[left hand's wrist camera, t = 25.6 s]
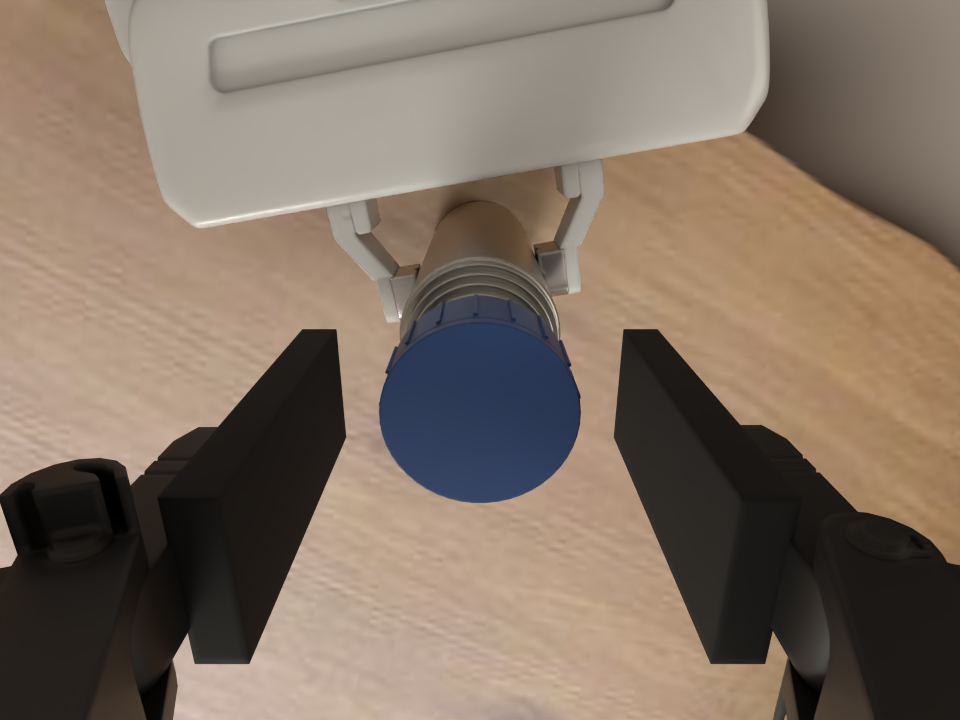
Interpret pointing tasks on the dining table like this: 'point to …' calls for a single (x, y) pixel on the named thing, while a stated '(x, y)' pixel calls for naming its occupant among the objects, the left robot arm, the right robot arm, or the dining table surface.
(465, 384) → the cap
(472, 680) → the dining table surface
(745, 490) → the left robot arm
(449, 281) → the bottle
